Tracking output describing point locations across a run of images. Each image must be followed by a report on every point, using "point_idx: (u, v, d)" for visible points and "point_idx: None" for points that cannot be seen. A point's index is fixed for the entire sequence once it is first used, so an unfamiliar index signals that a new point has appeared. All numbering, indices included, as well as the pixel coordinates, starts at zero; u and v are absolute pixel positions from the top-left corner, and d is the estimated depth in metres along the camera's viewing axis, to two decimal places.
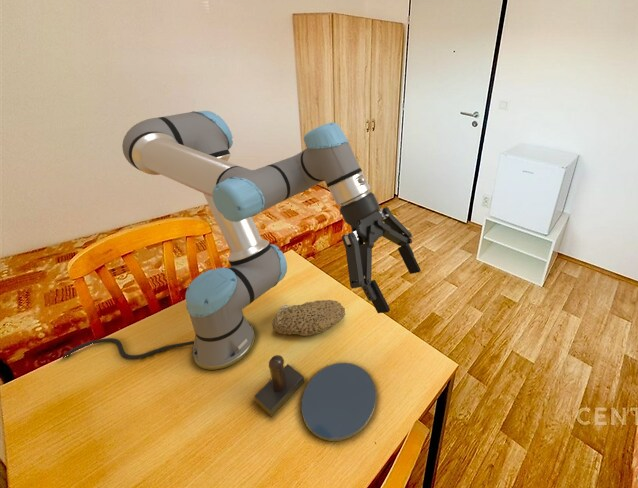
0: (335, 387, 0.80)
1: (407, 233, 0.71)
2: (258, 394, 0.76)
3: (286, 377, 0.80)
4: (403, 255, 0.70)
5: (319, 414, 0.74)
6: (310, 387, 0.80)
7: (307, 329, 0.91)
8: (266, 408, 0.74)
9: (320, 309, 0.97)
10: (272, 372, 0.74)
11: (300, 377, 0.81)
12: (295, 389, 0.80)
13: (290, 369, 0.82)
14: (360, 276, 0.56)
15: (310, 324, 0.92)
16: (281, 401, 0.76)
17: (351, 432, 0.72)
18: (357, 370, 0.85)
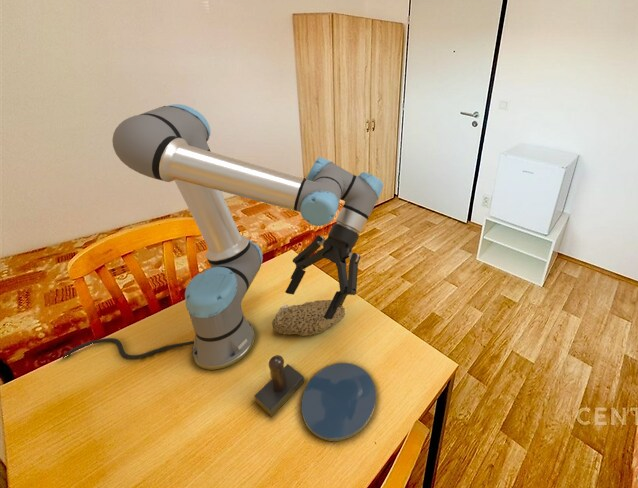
0: (335, 387, 0.80)
1: None
2: (258, 394, 0.76)
3: (286, 377, 0.80)
4: (298, 276, 0.82)
5: (319, 414, 0.74)
6: (310, 387, 0.80)
7: (307, 329, 0.91)
8: (266, 408, 0.74)
9: (320, 309, 0.97)
10: (272, 372, 0.74)
11: (300, 377, 0.81)
12: (295, 389, 0.80)
13: (290, 369, 0.82)
14: None
15: (310, 324, 0.92)
16: (281, 401, 0.76)
17: (351, 432, 0.72)
18: (357, 370, 0.85)
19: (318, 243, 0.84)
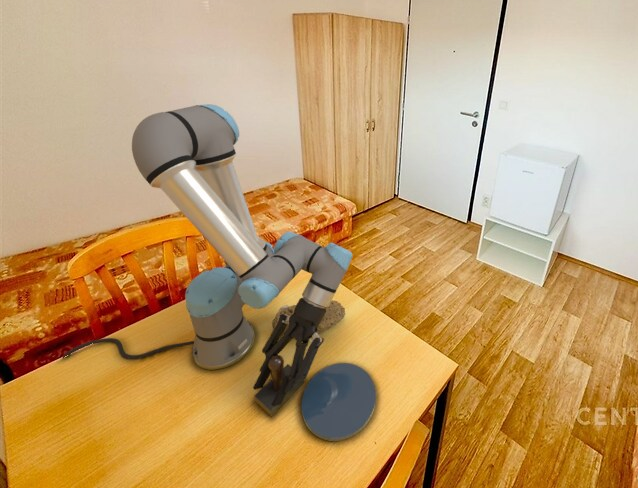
0: (335, 387, 0.80)
1: None
2: (258, 394, 0.76)
3: None
4: (267, 369, 0.77)
5: (319, 414, 0.74)
6: (310, 387, 0.80)
7: None
8: (266, 408, 0.74)
9: None
10: (272, 372, 0.74)
11: None
12: (295, 389, 0.80)
13: (290, 369, 0.82)
14: None
15: None
16: None
17: (351, 432, 0.72)
18: (357, 370, 0.85)
19: (284, 322, 0.81)
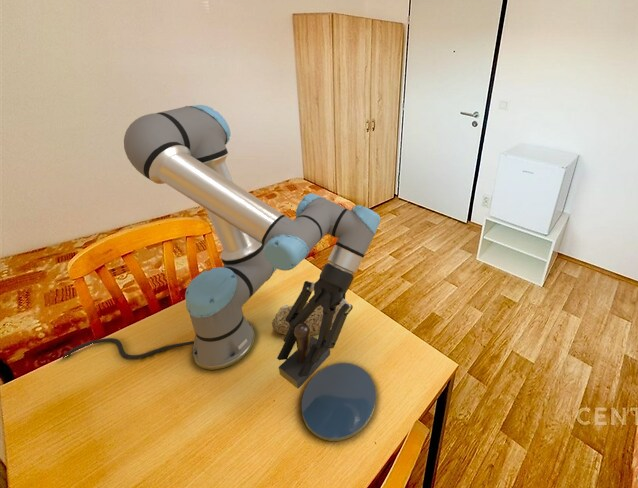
0: (335, 387, 0.80)
1: None
2: (282, 365, 0.70)
3: None
4: (291, 339, 0.71)
5: (319, 414, 0.74)
6: (310, 387, 0.80)
7: None
8: (292, 379, 0.68)
9: (320, 309, 0.97)
10: (298, 340, 0.68)
11: None
12: (322, 361, 0.74)
13: (314, 340, 0.77)
14: None
15: (310, 324, 0.92)
16: None
17: (351, 432, 0.72)
18: (357, 370, 0.85)
19: (308, 289, 0.75)
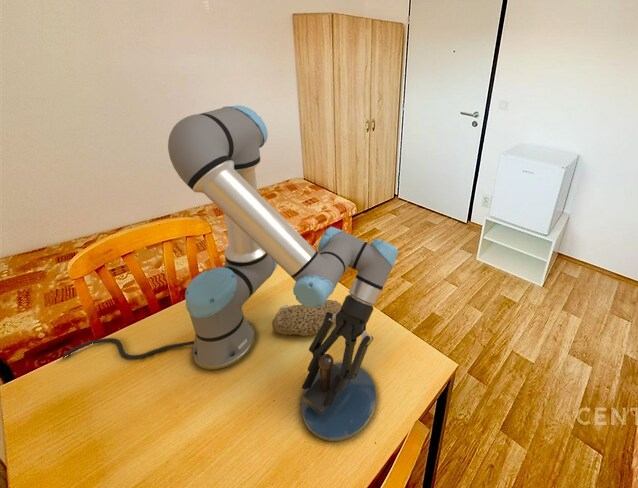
0: None
1: None
2: (307, 394, 0.74)
3: None
4: (315, 368, 0.75)
5: None
6: None
7: (307, 329, 0.91)
8: (316, 408, 0.72)
9: (320, 309, 0.97)
10: (322, 371, 0.72)
11: None
12: (343, 388, 0.77)
13: (335, 368, 0.80)
14: None
15: (310, 324, 0.92)
16: None
17: (351, 432, 0.72)
18: None
19: (330, 320, 0.79)
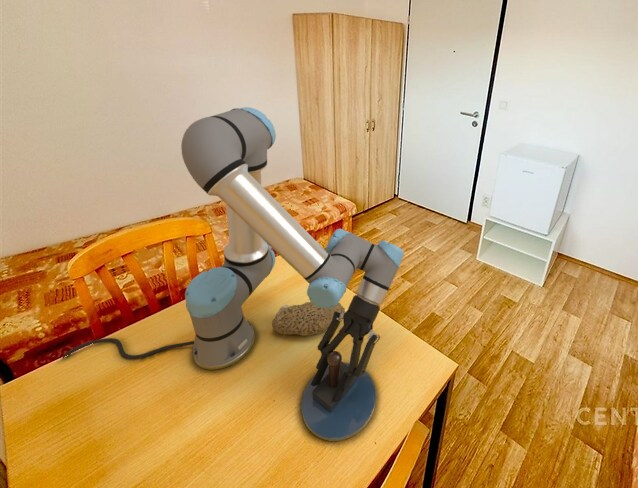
0: None
1: None
2: (315, 390, 0.77)
3: (340, 373, 0.81)
4: (323, 366, 0.78)
5: (319, 414, 0.74)
6: (310, 387, 0.80)
7: (307, 329, 0.91)
8: (325, 403, 0.75)
9: (320, 309, 0.97)
10: (331, 368, 0.75)
11: None
12: (350, 385, 0.80)
13: (343, 365, 0.83)
14: None
15: (310, 324, 0.92)
16: None
17: (351, 432, 0.72)
18: None
19: (338, 319, 0.81)
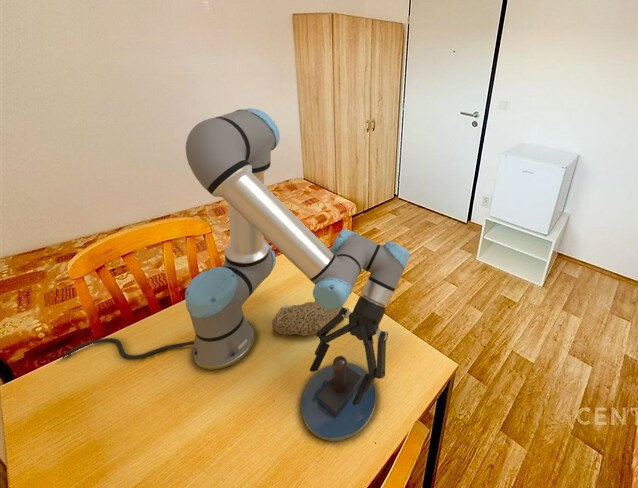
0: None
1: None
2: (320, 395, 0.76)
3: None
4: (322, 352, 0.79)
5: (319, 414, 0.74)
6: (310, 387, 0.80)
7: (307, 329, 0.91)
8: (330, 409, 0.74)
9: (320, 309, 0.97)
10: (336, 373, 0.74)
11: (359, 378, 0.80)
12: (355, 389, 0.79)
13: (347, 369, 0.82)
14: None
15: (310, 324, 0.92)
16: (344, 402, 0.75)
17: (351, 432, 0.72)
18: (357, 370, 0.85)
19: (343, 316, 0.81)
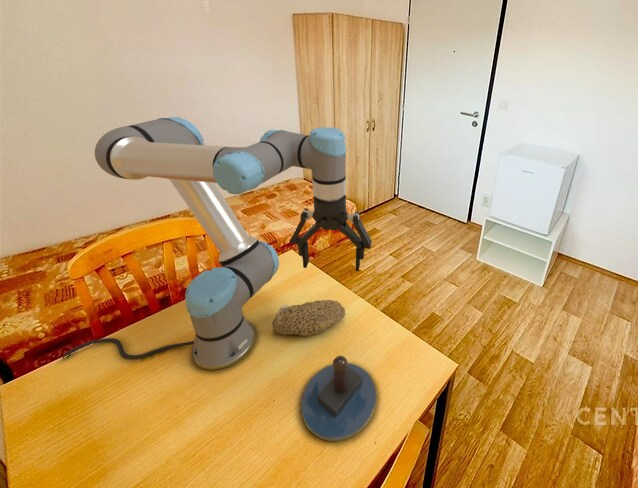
0: None
1: None
2: (320, 395, 0.76)
3: None
4: (306, 251, 0.81)
5: (319, 414, 0.74)
6: (310, 387, 0.80)
7: (307, 329, 0.91)
8: (330, 409, 0.74)
9: (320, 309, 0.97)
10: (336, 373, 0.74)
11: (359, 378, 0.80)
12: (355, 389, 0.79)
13: (347, 369, 0.82)
14: None
15: (310, 324, 0.92)
16: (344, 402, 0.75)
17: (351, 432, 0.72)
18: (357, 370, 0.85)
19: (307, 219, 0.76)
